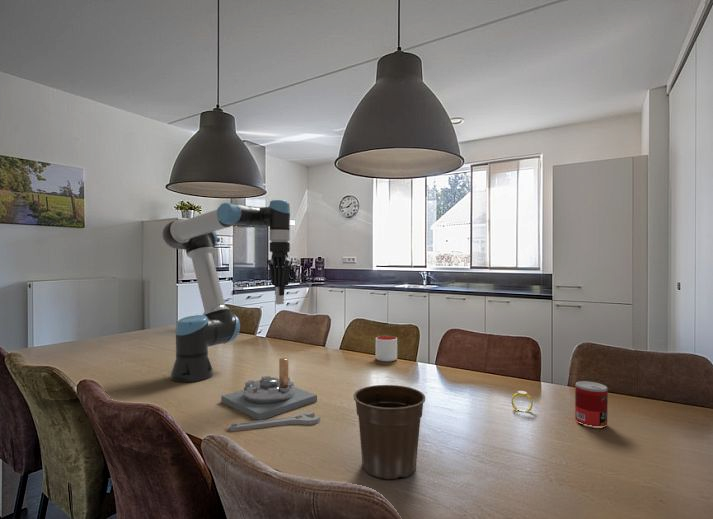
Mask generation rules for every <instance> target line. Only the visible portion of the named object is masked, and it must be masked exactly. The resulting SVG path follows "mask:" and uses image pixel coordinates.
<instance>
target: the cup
mask: <svg viewBox="0 0 713 519" xmlns="http://www.w3.org/2000/svg"><path fill="white" fill-rule="evenodd" d="M375 359H376V360H378V361H380V362H384V363H385V362H394V361H396V360H397V359H398V337H396V336H392V335H379V336H378V335H377V336H376V337H375Z"/></svg>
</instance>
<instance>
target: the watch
mask: <svg viewBox="0 0 713 519" xmlns="http://www.w3.org/2000/svg"><path fill="white" fill-rule="evenodd" d="M517 396H521V397H527V398H528V399H529V400H530V403H531V404H530V406H529V408H527V409H526V410H527V411H529V412H531V410H532V409H533V406H534V405H533V404H534V403H533V399H532V397H531V395H529V394H528V392H527V391H524V390H518V391H516V392H515V393H514V394H513V395H512V396H511V397H512V398H511V406H512V408H513V409H514V410H515V411H516V410H517V409H518V407H517V406H516V405H515V403H514V399H515V397H517Z"/></svg>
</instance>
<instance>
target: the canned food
mask: <svg viewBox="0 0 713 519" xmlns="http://www.w3.org/2000/svg"><path fill="white" fill-rule="evenodd" d="M574 387H575V390H574V392H575V394H574V396H575V398H574V400H575V403H574V404H575V406H574V407H575V410H574V411H575V412H574V414H575V416H574V418H575V421H576V420H577V421H578V422H581V423H583V424H587V425H592V426H605V425H607V426H608V405H609V404H608V400H609V399H608V395H609V394H608V391H609V390H608V389H609V388H608V387H607V386H606V384H602V383H599V382H595V381H588V380H580V381H577V382H575V385H574Z"/></svg>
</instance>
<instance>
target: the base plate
mask: <svg viewBox="0 0 713 519" xmlns="http://www.w3.org/2000/svg"><path fill="white" fill-rule="evenodd" d="M220 399H221V401H220V403H222V404H225V405H226V406H229V407H231V408H233V409H235V410H237V411H239V412H241V413H243V414H244V415H247V416H249V417H251V418H253V419H256V421H260V420H267V419H268V418H269V419H270V418H272V417H274V416H278V415H280V414H284V413H286V412H289V411H291V410H295V409H298V408H301V407H304V406H308V405H310V404H313V403H316V402H318V394H315V393H313V392H309V391H306V390H304V389H301V388H299V387H295V386H294V396H293V397H292V398H291V399H289V400H287V401H284V402H280V403H275V404H254V403H250V402H247V401H246V400H245V399H244V389H242V390H238V391H235V392H230V393H226V394H223V395H220Z"/></svg>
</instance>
